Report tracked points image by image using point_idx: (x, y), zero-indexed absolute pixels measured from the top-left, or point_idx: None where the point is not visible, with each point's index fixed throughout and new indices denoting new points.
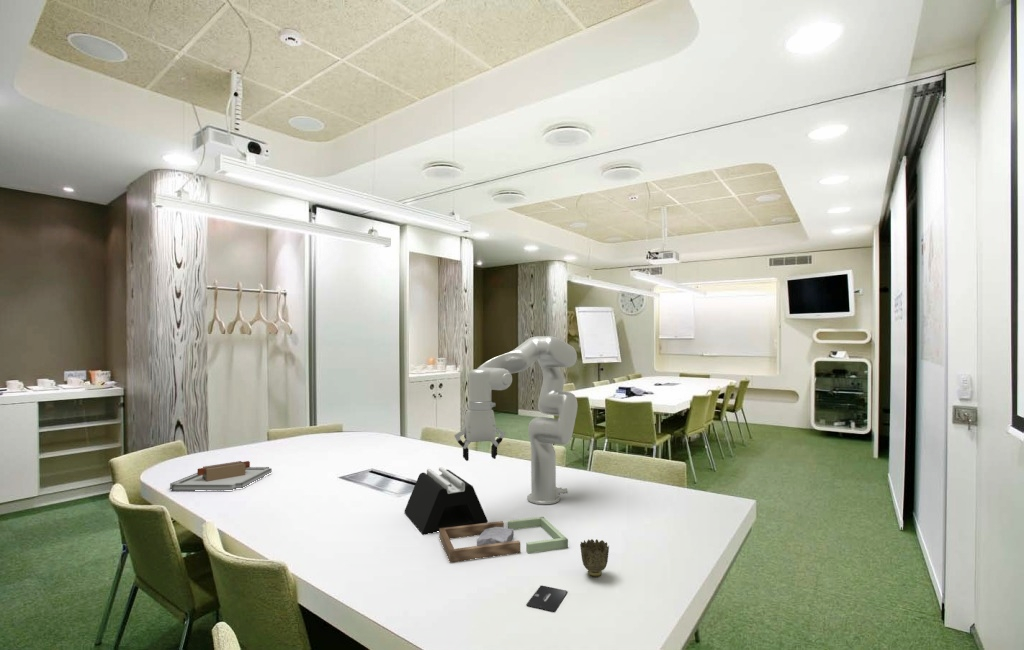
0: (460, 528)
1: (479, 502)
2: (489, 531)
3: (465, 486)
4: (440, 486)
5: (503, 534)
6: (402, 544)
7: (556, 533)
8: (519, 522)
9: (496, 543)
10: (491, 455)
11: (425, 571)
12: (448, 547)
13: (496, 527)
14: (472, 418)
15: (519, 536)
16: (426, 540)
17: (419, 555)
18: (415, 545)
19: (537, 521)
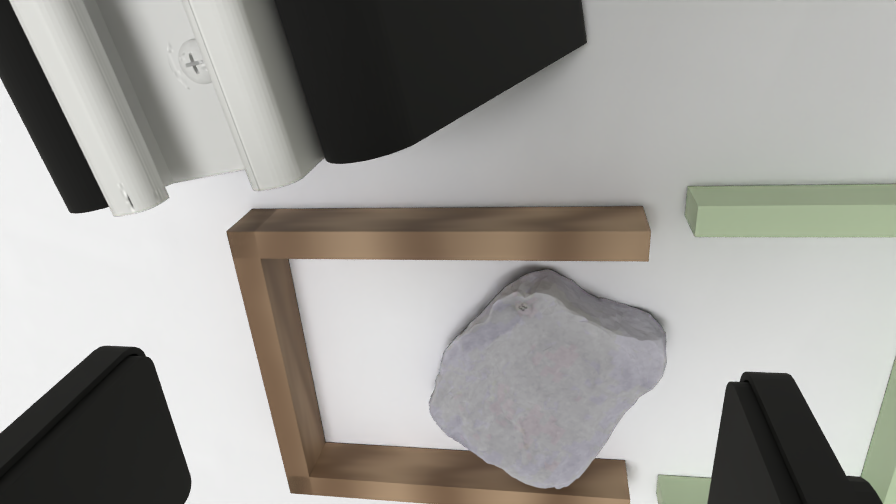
0: (353, 257)
1: (508, 87)
2: (518, 340)
3: (324, 143)
4: (48, 124)
5: (572, 439)
6: (76, 228)
7: (892, 474)
8: (777, 233)
9: (509, 492)
10: (736, 405)
11: (220, 483)
12: (284, 458)
13: (567, 334)
14: None
15: (706, 317)
16: (187, 215)
17: (179, 362)
18: (142, 259)
19: None
